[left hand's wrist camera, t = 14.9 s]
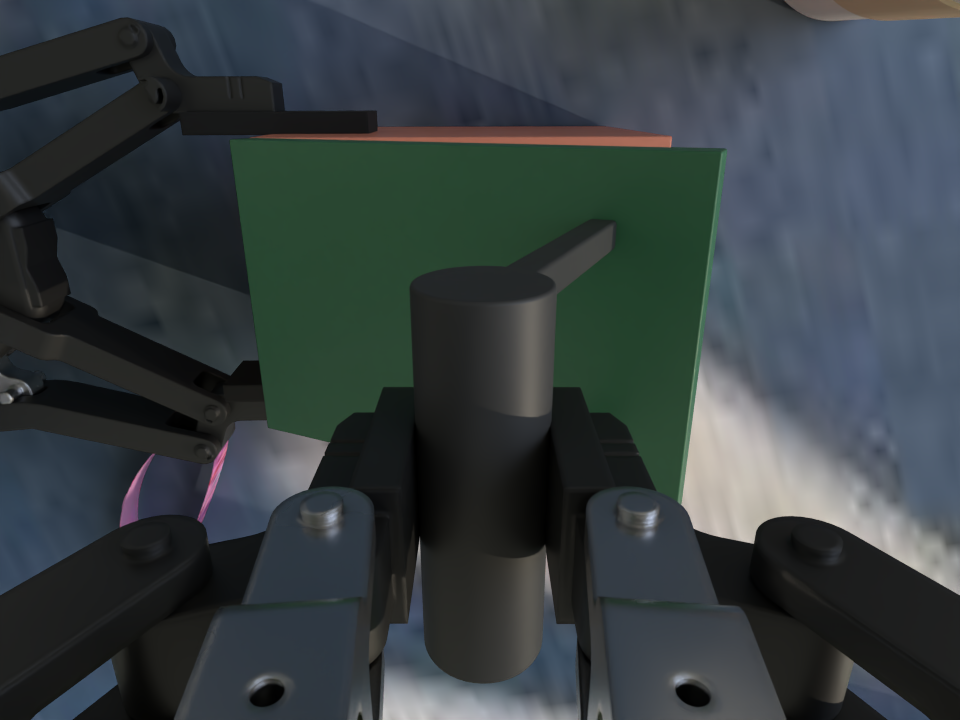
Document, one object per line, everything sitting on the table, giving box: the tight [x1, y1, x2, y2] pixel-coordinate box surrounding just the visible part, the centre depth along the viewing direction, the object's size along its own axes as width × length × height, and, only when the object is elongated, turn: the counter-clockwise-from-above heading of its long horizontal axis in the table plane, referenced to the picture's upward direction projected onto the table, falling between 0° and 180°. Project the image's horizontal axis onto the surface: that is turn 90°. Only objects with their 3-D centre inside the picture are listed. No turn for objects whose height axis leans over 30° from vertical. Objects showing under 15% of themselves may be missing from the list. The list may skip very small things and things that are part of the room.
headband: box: [120, 441, 228, 527], centre depth 36 cm, size 11×4×2 cm, turn 155°
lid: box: [230, 138, 727, 683], centre depth 16 cm, size 14×10×9 cm
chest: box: [251, 126, 672, 147], centre depth 27 cm, size 13×10×10 cm
